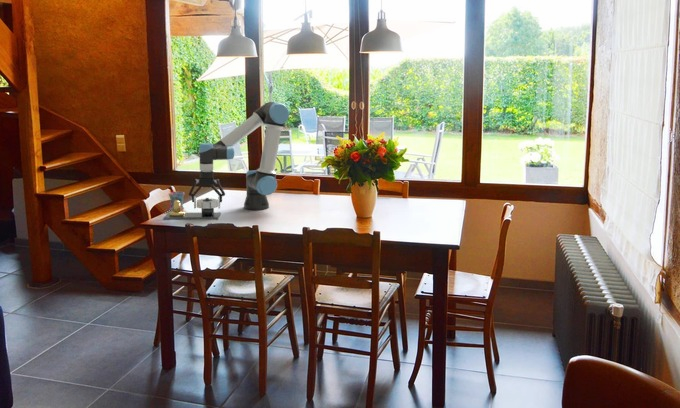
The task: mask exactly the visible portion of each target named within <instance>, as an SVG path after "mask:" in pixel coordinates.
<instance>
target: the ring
mask: <svg viewBox="0 0 680 408" xmlns="http://www.w3.org/2000/svg"><path fill="white" fill-rule="evenodd" d="M196 208H198V209H202V208H203V209H210V208H214V209H215V208H218V199H217V198H209V201H206V198H201V199H199V198H198V199H196Z"/></svg>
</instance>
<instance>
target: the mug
mask: <svg viewBox="0 0 680 408" xmlns="http://www.w3.org/2000/svg"><path fill="white" fill-rule="evenodd" d="M167 194H168V196H169V198H170V199H169V200H170V206H169V211H174V201H175V200H179V201H180V206H181V210H183V211H185V207H184V205H183V202H184V200H185V196H186V195H185V192H184V191H170V192H168V193H167Z"/></svg>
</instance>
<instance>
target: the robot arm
mask: <svg viewBox="0 0 680 408" xmlns="http://www.w3.org/2000/svg"><path fill="white" fill-rule="evenodd" d="M289 117H290V110H289V108H288V106H286V105H285V103H281V102H277V101H268V102H265V103H264V104H263V105H261V106H260V107H259V108H258V109H256V110H255V111H253V113H252V115H251V116H250V117H248V118H247V119H246V120H244V121H243V122H242V123H241V124H239V125H238V126H237V127H235V128H234V129H233V130H232V131H230V132H229V133H227V134H226V135H224V136H223V137H222V138H221V139H220V140H218V141H217V142H215V143H211V142H202V143H200V144H199V149H198V150H199V151H198V154H199V157H198V158H199V179H197V178H195V179H194V181H193V185H192V186H191V189H190V191H189V193H188V196H189V197H191V201H192V203H193V208H194V209H196V208H197V195H196V194H197V193H198V192H199V191H200V190H201V188H211V189H212V190H213V191H214V192H215V193H216V194H217V195H218V197H217V198H218V199H217V200H218V207H217V208H218V209H221V203H222V202H223V197H224V196H226V193H225V190H224V188H223V187H222V185H221V183H220V179H219V178H217V179H214V171H213V170H214V161H224V160H225V161H228V160H233V159H234V158H235V148H234V146H235V145H237V144H238V143H240V142H241V141H242V140H243V139H245V138H246V137H248V136H249V135H250V134H252V133H253V132H254V131H255V130H256V129H258V128H259V127H261V126H265V127H266V130H265V135H264V140H263V141H264V142H263V146H262V151H261V158H260V164H259V167H258V168H257V169H256V170H247V171H246V175H245V178H246V184H245V185H246V196H245V200H244V203H243V208H244V210H250V211H251V210H252V211H258V210H260V211H261V210H266V209H269V208H270V204H269V200H268V197H267V196H270V195H272V194H273V193H275V192H276V190H277V187H278V181H277V179H276V178H277V172H276V171H275V167H276V162H277V161H276V160H277V156H278V151H279V145H280V139H281V133H282V130H283V129H284V128H285V126H286V122H287V121H288V120H289ZM214 183H215V184H216V185H217V187H218V188H217V187H216V186H215V185H214ZM197 184H200V185H199V186H198V187H197V188H196V185H197ZM195 188H196V190H195ZM194 190H195V191H194Z"/></svg>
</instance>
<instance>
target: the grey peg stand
mask: <svg viewBox="0 0 680 408" xmlns="http://www.w3.org/2000/svg"><path fill="white" fill-rule="evenodd" d="M205 199H206V201H209V199H210V197H205ZM214 209H215V208H210V209H203V208H201V212H187V211H186V210H181V206H180V201H179V200H175V201H174V211H171V210H169V212H167V213H166V214H165V216H164V217H163V220H171V221H172V220H219V219H220V216H221V214H222V213H221V212H219V211H218V212H217V211H216V212H215V210H214Z"/></svg>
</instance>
